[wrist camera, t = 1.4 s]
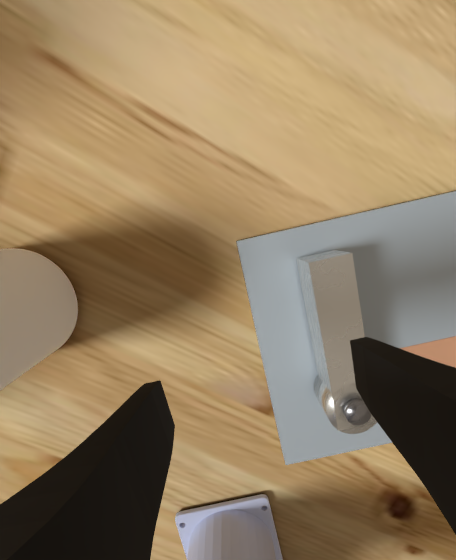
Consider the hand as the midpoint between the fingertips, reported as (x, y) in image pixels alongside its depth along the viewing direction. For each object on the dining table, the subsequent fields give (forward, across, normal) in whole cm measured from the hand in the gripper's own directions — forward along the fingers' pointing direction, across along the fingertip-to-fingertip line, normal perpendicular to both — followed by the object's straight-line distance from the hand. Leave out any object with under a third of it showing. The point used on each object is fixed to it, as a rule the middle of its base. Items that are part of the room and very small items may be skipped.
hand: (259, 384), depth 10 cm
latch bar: (+9, -6, +4) cm, 12 cm away
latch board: (+11, -10, +5) cm, 15 cm away
